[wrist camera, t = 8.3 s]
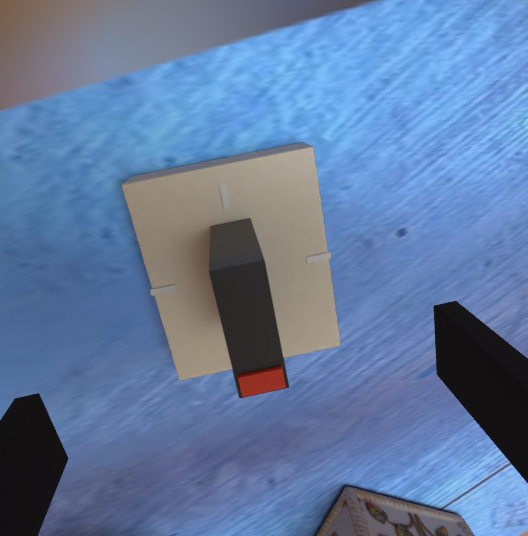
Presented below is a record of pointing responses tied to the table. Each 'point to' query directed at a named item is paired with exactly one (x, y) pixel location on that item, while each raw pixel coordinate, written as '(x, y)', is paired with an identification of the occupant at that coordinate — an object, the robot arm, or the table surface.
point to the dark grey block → (246, 308)
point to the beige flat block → (269, 237)
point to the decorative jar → (388, 518)
